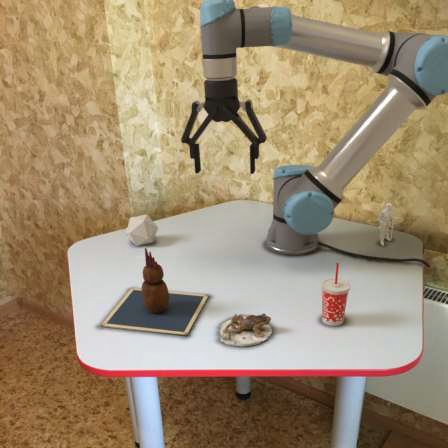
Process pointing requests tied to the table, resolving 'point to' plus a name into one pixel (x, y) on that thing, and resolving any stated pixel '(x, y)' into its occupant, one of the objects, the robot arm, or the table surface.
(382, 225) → the action figure
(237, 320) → the frog figurine
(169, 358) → the table surface
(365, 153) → the robot arm
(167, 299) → the wooden figurine
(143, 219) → the die
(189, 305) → the framed chalkboard
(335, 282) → the beverage cup
